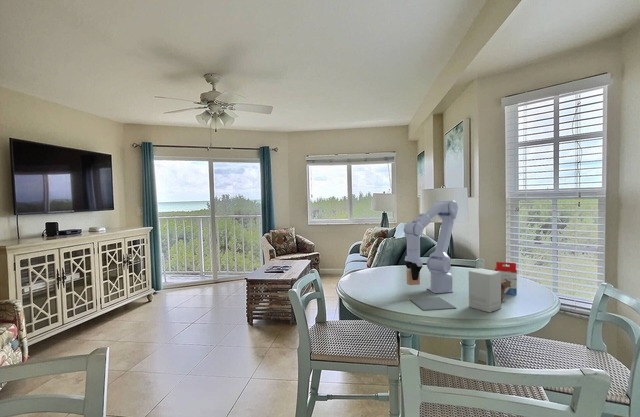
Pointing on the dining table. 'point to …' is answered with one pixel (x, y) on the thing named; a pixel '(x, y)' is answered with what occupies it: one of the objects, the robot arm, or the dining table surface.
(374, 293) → the dining table surface
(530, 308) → the dining table surface
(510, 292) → the ink box
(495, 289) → the supplement box
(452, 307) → the mat
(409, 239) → the robot arm
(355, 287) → the dining table surface
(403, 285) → the dining table surface
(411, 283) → the slab
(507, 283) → the dinosaur figurine
